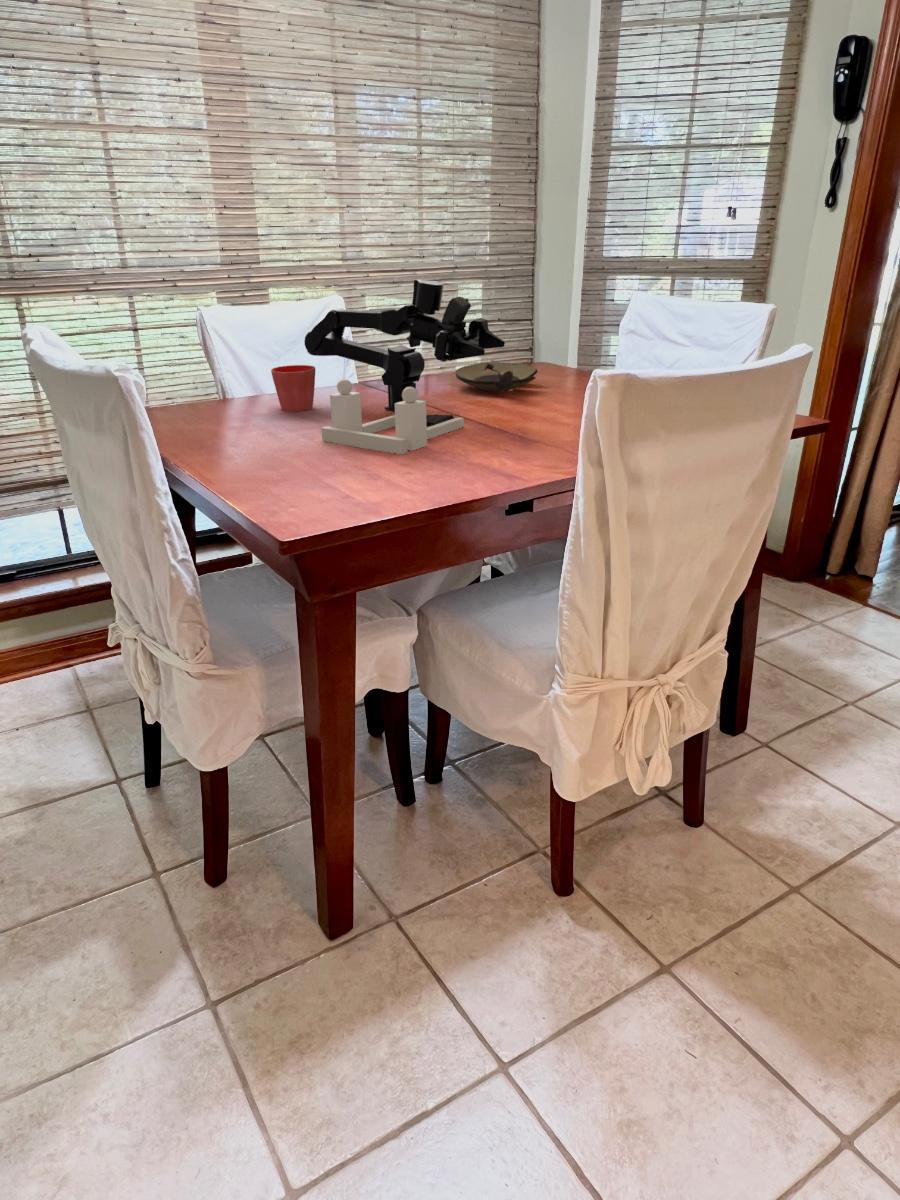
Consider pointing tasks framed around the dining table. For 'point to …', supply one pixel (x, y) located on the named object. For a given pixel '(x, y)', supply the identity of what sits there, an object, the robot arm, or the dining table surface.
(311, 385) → the flower pot
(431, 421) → the wood
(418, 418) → the twin knob post frame
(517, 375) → the oil lamp
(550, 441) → the dining table surface
